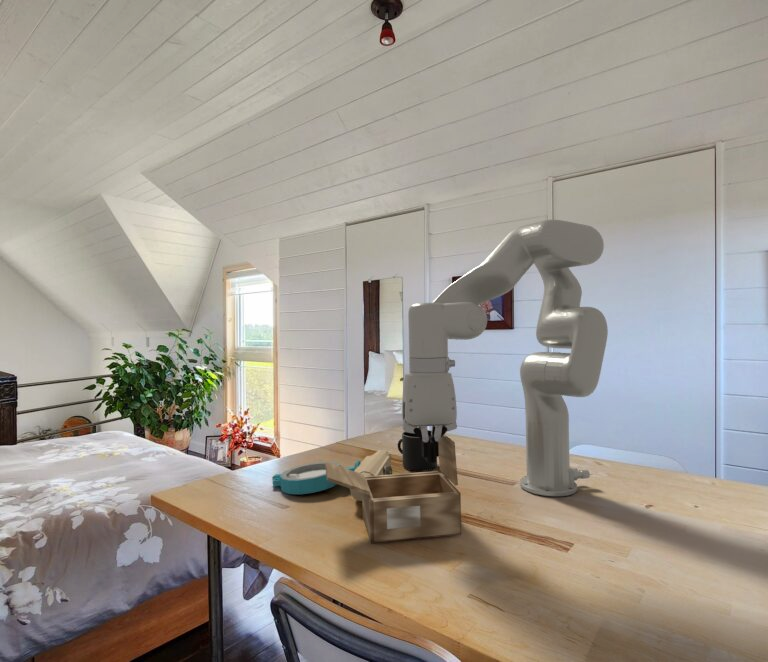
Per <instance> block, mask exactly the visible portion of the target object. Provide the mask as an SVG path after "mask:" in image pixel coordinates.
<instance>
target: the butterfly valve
mask: <svg viewBox="0 0 768 662" xmlns="http://www.w3.org/2000/svg"><path fill="white" fill-rule="evenodd" d="M326 462H327V461H319V462H311V463H307V464H306V463H305V464H302V465H298V466H294V467H292V468H290V469H287V470H285V471H283V472H282V473H276V474H273V476H272V477H271V479H272V487H280V490H281V491H282V492H283V493H285V494H288V495H305V494H306V495H307V494H313V493H316V492H322V491H325V490H329V489H330V488H333V487H335V486H337V485H338V484H335V483H332V482H329V481H327V476H326V468H325V463H326ZM328 462H329V463H332V464H335V465H338V466H341V464H340V463H339V462H335V461H328ZM391 462H392V456H391V454H390V452H389V451H388V450H386V449H379V450H377V451H375V453H373V454H371V455H365V457H364V458H363V459H362V461H360V460H356V461H355V463H354V465H353V466H346V467H344V468H346V469H349V470H352V471H355V472H358V473H361V474H364V477H365V476H379V475H392V474H393V468H392V466H391V465H392V464H391ZM349 491H350V495H351V497H352V498H353V499H354V500H355V501H358V502H362V492H359V491H356V490H353V489H350V488H349Z"/></svg>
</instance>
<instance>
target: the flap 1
mask: <svg viewBox="0 0 768 662" xmlns="http://www.w3.org/2000/svg"><path fill="white" fill-rule="evenodd" d="M325 462H326V463H325V468H326V476H327V481H329V482H332V483H335V484H337V485H339V486H342V487H345V488H348V489H349V490H350V489H353V490H356V491H359V492H362V493H365V494H368V495H369V493H370V490H369V488H368V485H367V482H366V480H365V477H364V474H361V473H358V472H355V471H352V470H349V469H346V468H345V467H343V466H341V465H340V466H338V465H335V464H332V463H329V462H330V461H325Z"/></svg>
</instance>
